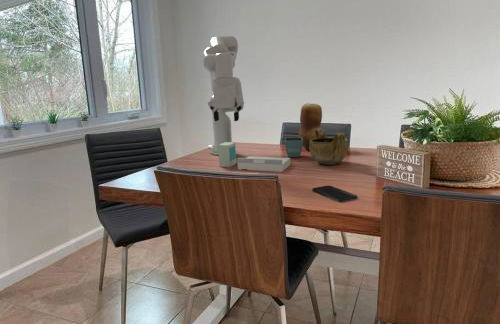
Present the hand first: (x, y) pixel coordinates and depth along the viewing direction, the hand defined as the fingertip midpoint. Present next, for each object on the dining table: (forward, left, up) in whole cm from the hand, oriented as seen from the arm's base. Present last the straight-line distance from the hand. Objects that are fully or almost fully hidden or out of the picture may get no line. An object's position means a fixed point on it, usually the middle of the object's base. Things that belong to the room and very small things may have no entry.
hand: (226, 120), depth 163 cm
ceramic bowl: (+44, +13, -21) cm, 50 cm away
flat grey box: (+18, 0, -20) cm, 27 cm away
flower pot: (+25, +25, -21) cm, 41 cm away
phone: (+53, -32, -21) cm, 65 cm away
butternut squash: (+29, +46, -21) cm, 58 cm away
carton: (0, 0, -20) cm, 20 cm away
